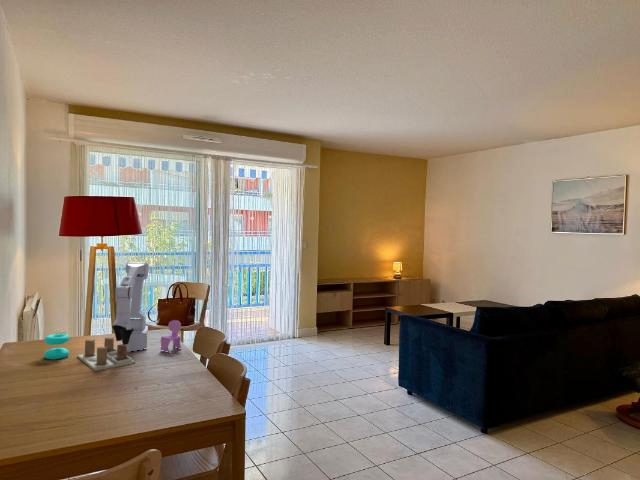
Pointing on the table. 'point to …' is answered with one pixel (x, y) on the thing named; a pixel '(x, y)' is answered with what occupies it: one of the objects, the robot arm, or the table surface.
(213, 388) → the table surface
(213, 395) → the table surface
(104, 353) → the pin board
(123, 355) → the walnut pin
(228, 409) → the table surface
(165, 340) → the toy chair
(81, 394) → the table surface
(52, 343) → the donuts
